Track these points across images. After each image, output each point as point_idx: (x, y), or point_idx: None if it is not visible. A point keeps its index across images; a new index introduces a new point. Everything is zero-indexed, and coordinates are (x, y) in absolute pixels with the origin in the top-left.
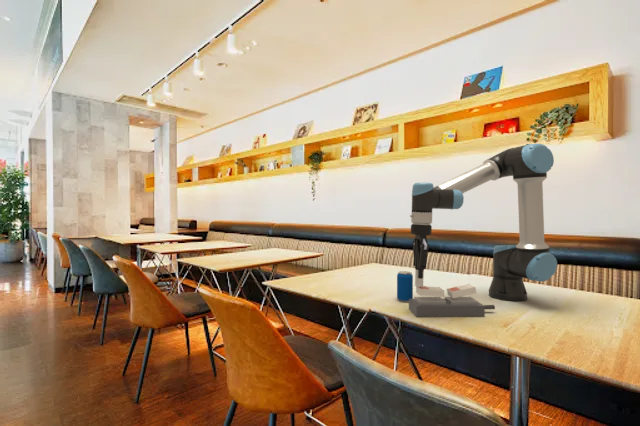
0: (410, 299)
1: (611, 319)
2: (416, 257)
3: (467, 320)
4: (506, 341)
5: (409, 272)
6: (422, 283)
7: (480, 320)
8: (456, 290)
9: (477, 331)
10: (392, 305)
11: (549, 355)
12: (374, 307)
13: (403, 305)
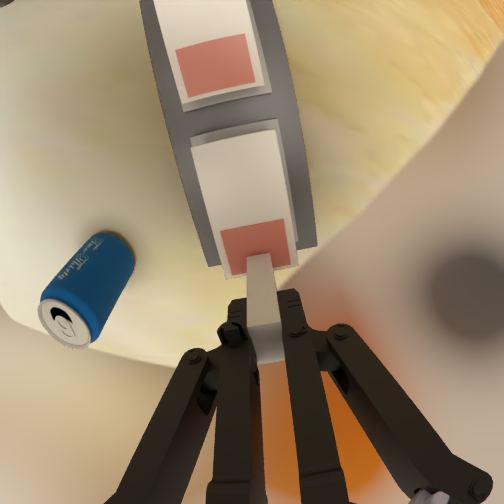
0: (218, 262)
1: None
2: (262, 438)
3: (320, 54)
4: (461, 42)
5: (42, 305)
6: (271, 266)
7: (310, 13)
8: (250, 55)
9: (417, 70)
10: (185, 293)
11: (493, 18)
12: None
13: (172, 261)
